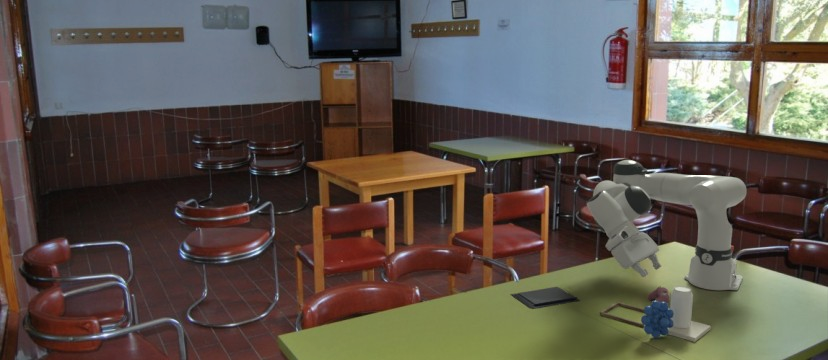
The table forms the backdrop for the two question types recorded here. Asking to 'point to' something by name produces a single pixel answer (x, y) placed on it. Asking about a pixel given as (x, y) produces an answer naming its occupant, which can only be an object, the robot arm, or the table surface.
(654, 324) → the grapes
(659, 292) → the video game controller
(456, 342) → the table surface
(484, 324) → the table surface
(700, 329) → the brown bars cream slab
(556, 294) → the dark grey flat block
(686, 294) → the beverage can
